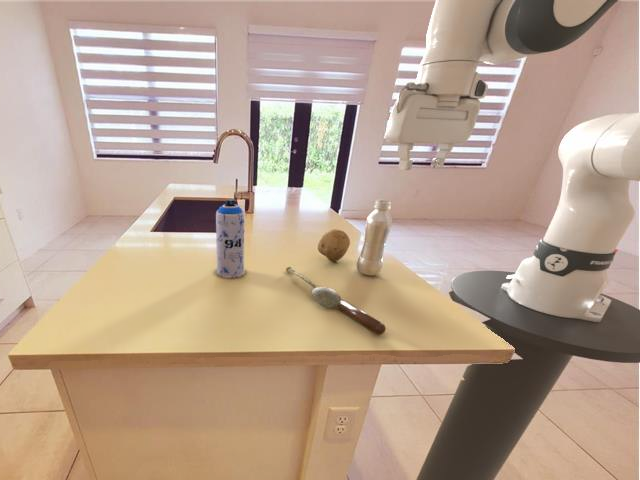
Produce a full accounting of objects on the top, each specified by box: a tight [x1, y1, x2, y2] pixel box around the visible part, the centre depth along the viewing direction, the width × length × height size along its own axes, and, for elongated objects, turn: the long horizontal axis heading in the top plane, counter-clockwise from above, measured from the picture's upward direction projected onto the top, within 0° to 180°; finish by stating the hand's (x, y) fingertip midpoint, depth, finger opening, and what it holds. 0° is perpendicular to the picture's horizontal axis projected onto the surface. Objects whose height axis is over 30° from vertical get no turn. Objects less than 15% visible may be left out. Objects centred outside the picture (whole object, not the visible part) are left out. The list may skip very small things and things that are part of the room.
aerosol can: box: [215, 199, 246, 279], centre depth 84 cm, size 8×8×20 cm
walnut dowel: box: [337, 299, 387, 335], centre depth 66 cm, size 2×12×2 cm, turn 26°
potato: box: [317, 228, 351, 263], centre depth 95 cm, size 9×9×10 cm
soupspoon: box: [285, 266, 343, 310], centre depth 79 cm, size 22×3×7 cm
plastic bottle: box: [356, 199, 393, 276], centre depth 84 cm, size 6×7×20 cm
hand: (420, 169), depth 62 cm, fingers open, 8 cm apart
